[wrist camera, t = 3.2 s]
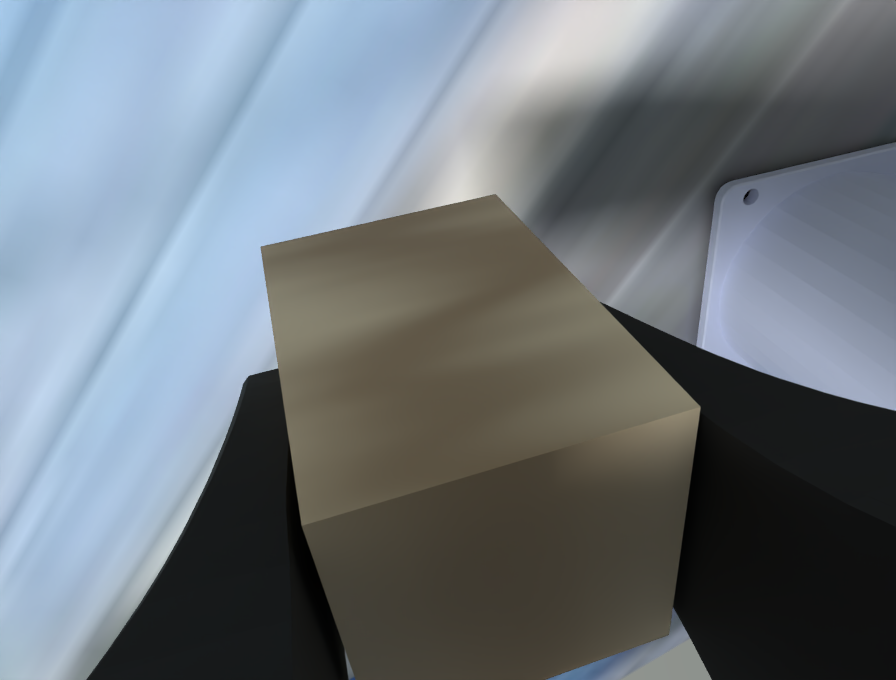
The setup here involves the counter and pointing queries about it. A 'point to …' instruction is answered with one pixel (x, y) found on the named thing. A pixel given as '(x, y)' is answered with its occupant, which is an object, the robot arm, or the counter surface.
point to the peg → (475, 449)
